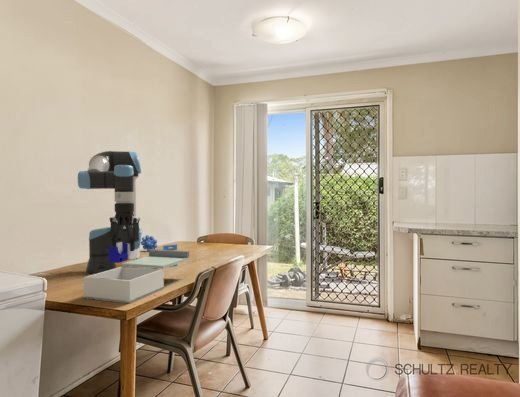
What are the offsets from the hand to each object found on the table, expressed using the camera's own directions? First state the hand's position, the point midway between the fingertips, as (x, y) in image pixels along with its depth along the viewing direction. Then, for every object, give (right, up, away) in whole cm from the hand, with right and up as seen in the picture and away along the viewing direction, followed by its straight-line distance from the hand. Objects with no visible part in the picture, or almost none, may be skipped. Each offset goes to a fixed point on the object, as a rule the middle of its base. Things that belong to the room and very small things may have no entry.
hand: (125, 258), depth 148 cm
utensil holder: (-30, -14, +85) cm, 92 cm away
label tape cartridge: (+4, -14, +57) cm, 59 cm away
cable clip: (0, 0, -2) cm, 2 cm away
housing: (0, -15, 0) cm, 15 cm away
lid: (+7, -6, +21) cm, 23 cm away
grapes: (-24, -14, +111) cm, 114 cm away
